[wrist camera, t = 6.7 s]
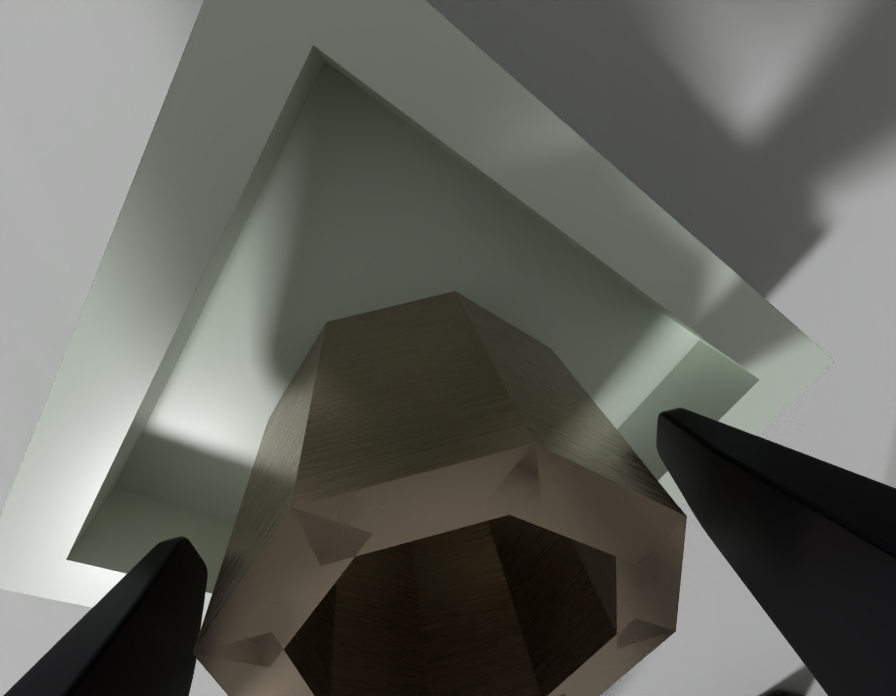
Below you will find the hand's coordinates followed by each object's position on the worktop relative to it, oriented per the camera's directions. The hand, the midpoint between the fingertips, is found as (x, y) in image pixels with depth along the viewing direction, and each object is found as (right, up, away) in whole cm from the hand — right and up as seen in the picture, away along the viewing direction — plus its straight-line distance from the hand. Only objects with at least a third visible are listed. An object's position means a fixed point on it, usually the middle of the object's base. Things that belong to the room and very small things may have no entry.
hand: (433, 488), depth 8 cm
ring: (0, +1, +2) cm, 3 cm away
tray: (0, +1, +3) cm, 3 cm away
